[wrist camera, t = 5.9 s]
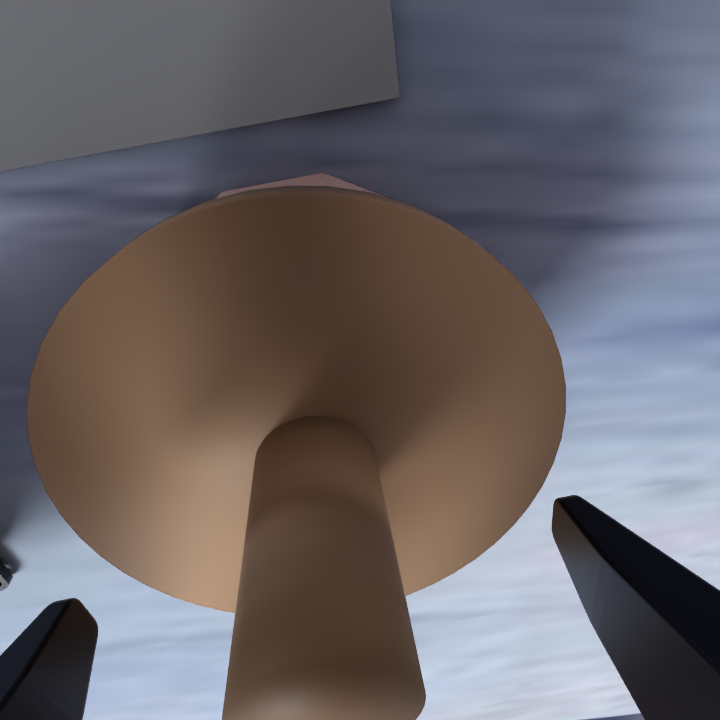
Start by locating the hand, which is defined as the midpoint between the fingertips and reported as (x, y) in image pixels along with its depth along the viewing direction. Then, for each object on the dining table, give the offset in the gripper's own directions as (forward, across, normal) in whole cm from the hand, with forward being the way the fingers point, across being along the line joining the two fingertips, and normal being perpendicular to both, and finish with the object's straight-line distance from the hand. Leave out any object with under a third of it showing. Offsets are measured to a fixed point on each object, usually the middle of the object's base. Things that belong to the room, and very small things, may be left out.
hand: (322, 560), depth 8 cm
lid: (+4, 0, 0) cm, 4 cm away
